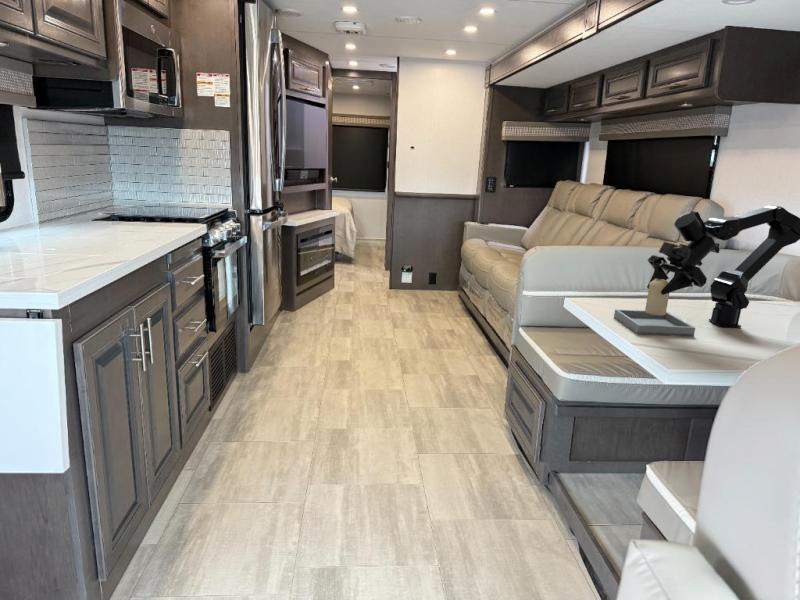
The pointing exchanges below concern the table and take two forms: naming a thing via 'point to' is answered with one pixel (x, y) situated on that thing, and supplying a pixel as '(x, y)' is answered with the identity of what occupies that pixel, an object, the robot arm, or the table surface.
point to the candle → (657, 298)
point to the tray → (654, 323)
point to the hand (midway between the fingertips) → (654, 290)
